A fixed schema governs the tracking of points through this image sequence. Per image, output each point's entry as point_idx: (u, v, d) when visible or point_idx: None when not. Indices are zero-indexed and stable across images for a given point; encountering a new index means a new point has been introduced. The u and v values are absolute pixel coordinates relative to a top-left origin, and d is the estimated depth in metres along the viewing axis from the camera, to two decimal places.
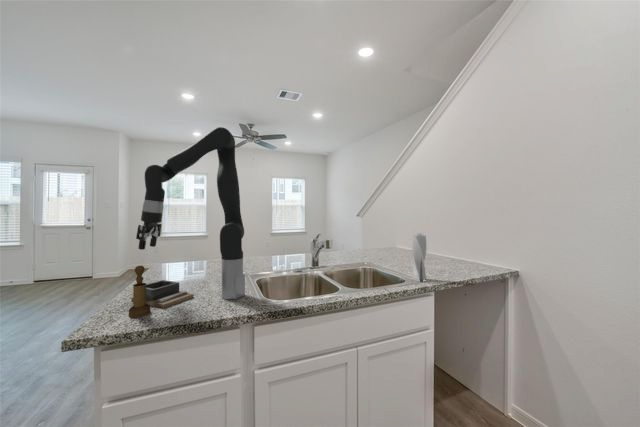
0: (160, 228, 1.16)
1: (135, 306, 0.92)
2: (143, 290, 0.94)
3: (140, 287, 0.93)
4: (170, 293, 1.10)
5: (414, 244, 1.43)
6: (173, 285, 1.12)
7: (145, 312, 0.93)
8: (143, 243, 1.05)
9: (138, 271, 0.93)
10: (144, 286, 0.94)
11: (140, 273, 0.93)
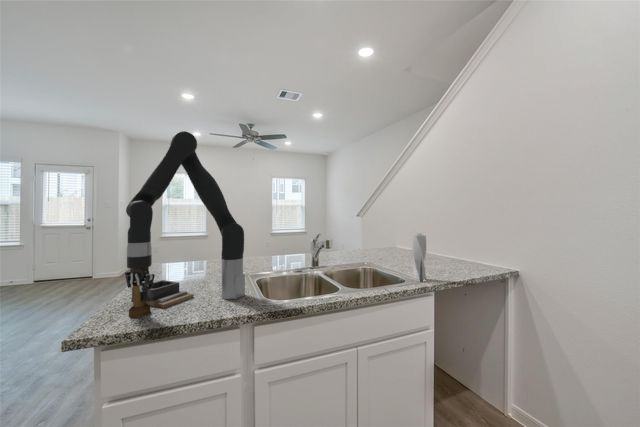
0: None
1: (135, 306, 0.92)
2: None
3: None
4: (170, 293, 1.10)
5: (414, 244, 1.43)
6: (173, 285, 1.12)
7: (145, 312, 0.93)
8: (146, 293, 0.94)
9: None
10: None
11: None
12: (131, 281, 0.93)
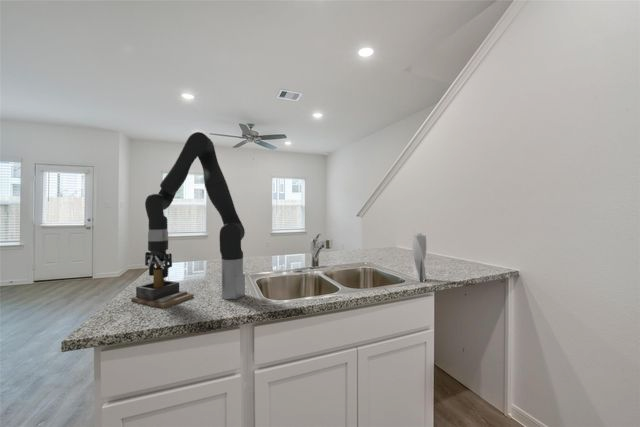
0: None
1: (155, 286, 1.09)
2: None
3: (159, 270, 1.09)
4: (170, 293, 1.10)
5: (414, 244, 1.43)
6: (173, 285, 1.12)
7: None
8: (167, 271, 1.10)
9: None
10: None
11: None
12: (150, 261, 1.10)
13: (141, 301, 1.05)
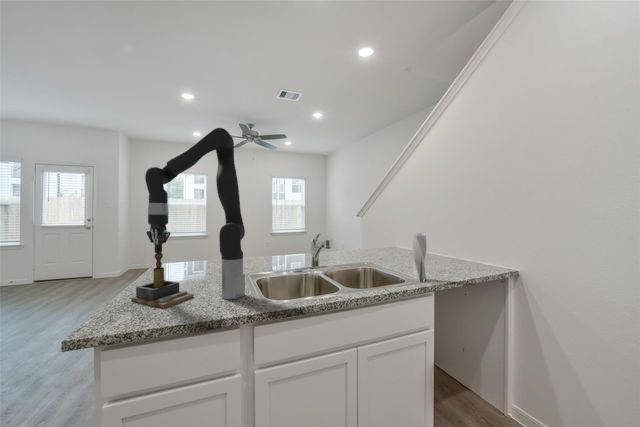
0: None
1: (155, 286, 1.09)
2: (162, 273, 1.10)
3: (159, 270, 1.09)
4: (170, 293, 1.10)
5: (414, 244, 1.43)
6: (173, 285, 1.12)
7: None
8: (161, 246, 1.11)
9: (158, 257, 1.09)
10: (162, 270, 1.11)
11: (159, 259, 1.10)
12: (153, 236, 1.09)
13: (141, 301, 1.05)
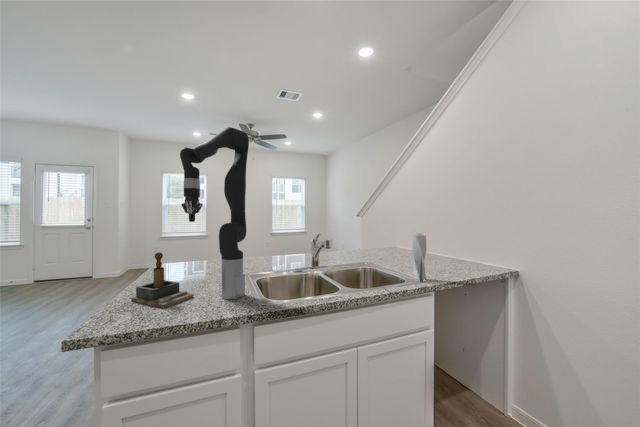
0: None
1: (155, 286, 1.09)
2: (162, 273, 1.10)
3: (159, 270, 1.09)
4: (170, 293, 1.10)
5: (414, 244, 1.43)
6: (173, 285, 1.12)
7: None
8: (194, 216, 1.29)
9: (158, 257, 1.09)
10: (162, 270, 1.11)
11: (159, 259, 1.10)
12: (187, 207, 1.28)
13: (141, 301, 1.05)
